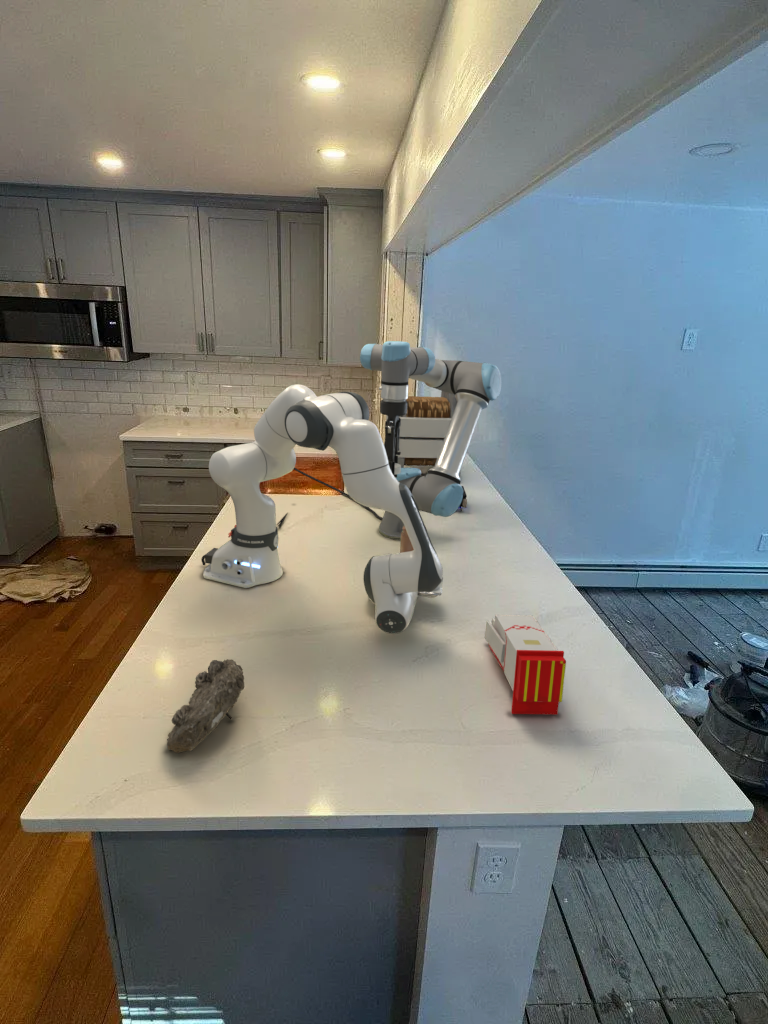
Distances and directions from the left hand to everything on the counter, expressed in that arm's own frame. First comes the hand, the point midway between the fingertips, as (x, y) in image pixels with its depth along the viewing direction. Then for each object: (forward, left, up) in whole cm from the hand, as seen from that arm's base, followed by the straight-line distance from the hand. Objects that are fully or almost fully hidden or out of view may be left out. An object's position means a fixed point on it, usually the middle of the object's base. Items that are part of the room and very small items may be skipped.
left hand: (408, 568), depth 158 cm
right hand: (-8, +14, +21) cm, 27 cm away
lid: (-8, +14, +25) cm, 30 cm away
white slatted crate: (-11, +122, -7) cm, 123 cm away
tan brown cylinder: (0, -1, -7) cm, 7 cm away
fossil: (-29, -61, -7) cm, 68 cm away
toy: (+29, -33, -7) cm, 44 cm away
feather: (-52, +47, -7) cm, 70 cm away
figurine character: (+10, +76, -7) cm, 77 cm away
